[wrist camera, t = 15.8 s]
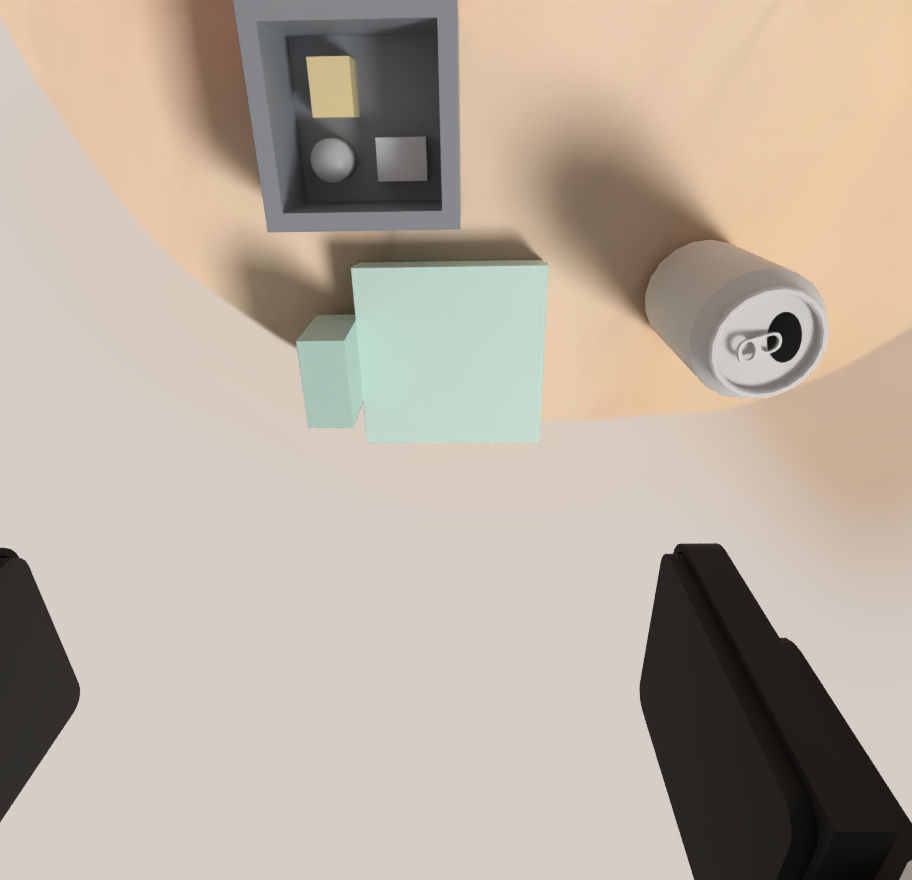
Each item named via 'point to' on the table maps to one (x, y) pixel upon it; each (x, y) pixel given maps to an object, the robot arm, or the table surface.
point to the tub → (354, 112)
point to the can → (737, 319)
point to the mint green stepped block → (432, 353)
